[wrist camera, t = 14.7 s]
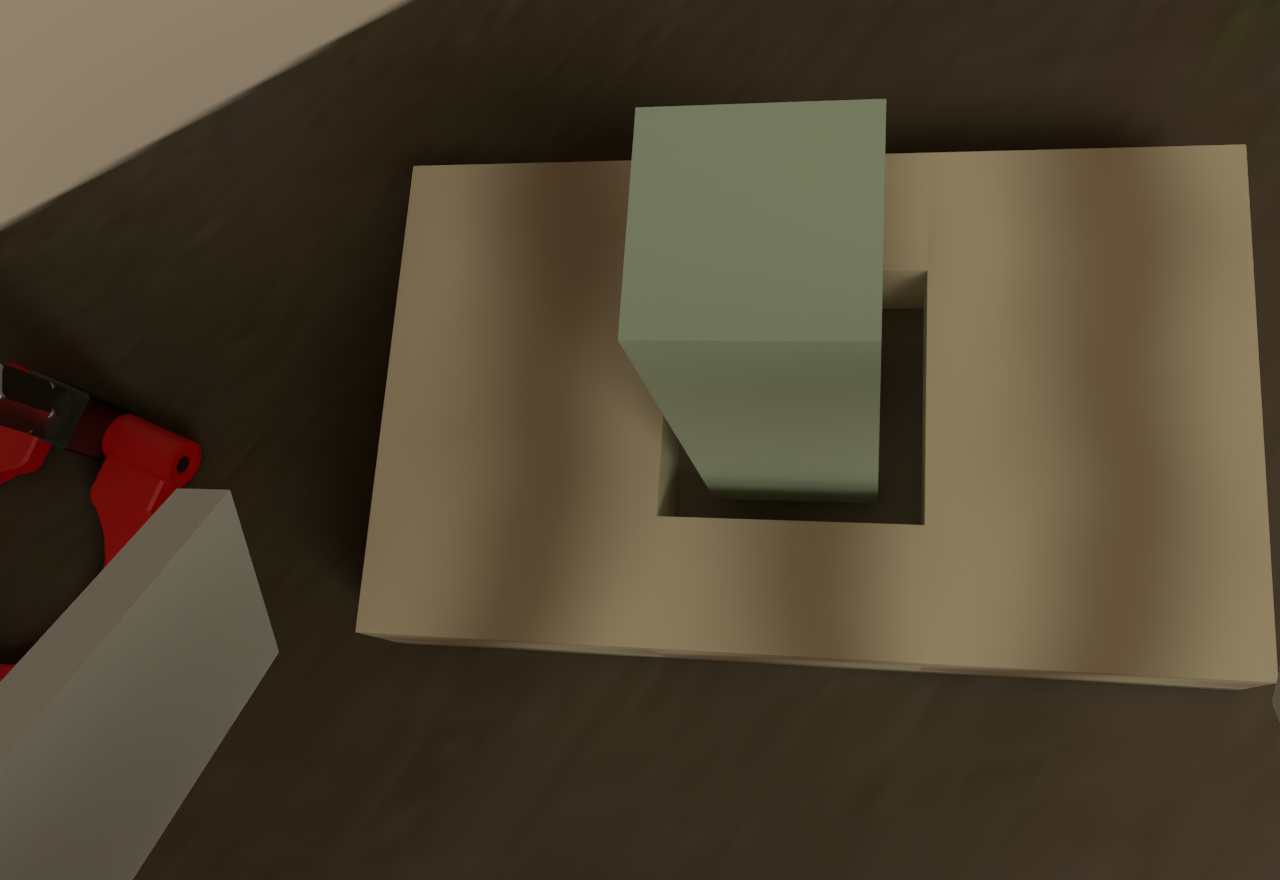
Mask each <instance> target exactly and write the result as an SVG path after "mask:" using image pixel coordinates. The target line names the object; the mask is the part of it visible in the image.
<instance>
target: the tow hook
mask: <svg viewBox="0 0 1280 880" xmlns="http://www.w3.org/2000/svg"><path fill="white" fill-rule="evenodd" d="M52 445H54V446H56V447H58V448H60V449H64V450H67V451H70V452H73V453H77V454H80V455H83V456H87V457H90V458H93V459H97V460H100V461H103V462H104V463H103V465H102V467H101V469H100V471H99V473H98V475H97V477H96V479H95V481H94V483H93V486H92V488H91V490H90V495H91V502H92V503H93V505H94V507H95V508H96V510H97V513H98V516H99V519H100V523H101V526H102V529H103V532H104V549H105V561H104V567H103V569H104V568H105V567H106V566H107V565H108V563H109V562H110V561H111V560H112V559H113V558H114V557H115V556H116V555H117V554H118V553H119V551H120V550H121V549H122V548H123V547H124V546H125V545H126V544H127V543H128V542H129V540H130V539H131V538H132V537H133V536H134V535H135V534H136V533H137V532H138V531H139V530H140V528H141V527H142V526H143V525H144V524H145V523H146V522H147V521H148V520H149V519H150V517H151V516H152V515H153V514H154V513H155V512H156V511H157V510H158V509H159V508H160V506H161V505H162V504H163V503H164V502H165V501H166V500H167V499H168V498H169V497H170V496H171V494H172V493H173V492H174V491H175V489H176V488H180V487H183V486H184V485H186V484H187V483H188V482H189V481H190V480H191V479H192V478H193V477H194V475H195V474H196V472H197V470H198V468H199V465H200V462H201V448H200V446H199V445H198V444H197V443H196V442H194V441H192V440H190V439H187V438H185V437H183V436H180V435H178V434H176V433H174V432H171V431H169V430H167V429H164V428H162V427H160V426H157V425H155V424H153V423H151V422H148V421H146V420H144V419H141V418H139V417H137V415H136V414H135V413H134V412H133V411H131V410H129V409H127V408H125V407H122V406H120V405H118V404H116V403H113V402H111V401H109V400H106V399H104V398H102V397H99V396H97V395H95V394H93V393H90V392H88V391H86V390H83V389H81V388H79V387H76V386H73V385H71V384H68V383H66V382H63V381H60V380H58V379H55V378H52V377H50V376H47V375H45V374H42V373H39V372H37V371H34V370H32V371H31V370H29V369H27V368H25V367H22V366H20V365H18V364H15V363H11V362H9V363H2V362H0V484H2V483H4V482H6V481H8V480H10V479H12V478H14V477H16V476H17V475H22V474H26V473H31V472H35V471H36V470H37V469H38V468H39V467H41V466H42V464H43V462H44V460H45V458H46V456H47V454H48V452H49V450H50V448H51V446H52ZM15 665H16V664H13V665H9V664H1V663H0V682H1V681H2V680H3V679H4V677H5V676H6V675H7V674H8V673H9V672H10V671H11V670H12V669H13V668H14V667H15Z"/></svg>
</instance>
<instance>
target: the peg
mask: <svg viewBox="0 0 1280 880" xmlns="http://www.w3.org/2000/svg"><path fill="white" fill-rule="evenodd" d="M885 138H886V99H867V100H839V101H810V102H781V103H752V104H724V105H695V106H666V107H637V108H635V122H634V135H633V148H632V161H631V174H630V187H629V200H628V213H627V226H626V240H625V253H624V266H623V279H622V292H621V305H620V318H619V331H618V341H619V343H620V345H621V346H622V348H623V350H624V351H625V353H626V355H627V356H628V358H629V360H630V361H631V363H632V364H633V366H634V368H635V369H636V371H637V373H638V374H639V376H640V378H641V379H642V381H643V382H644V384H645V386H646V387H647V389H648V391H649V392H650V394H651V396H652V397H653V399H654V400H655V402H656V404H657V405H658V407H659V409H660V410H661V412H662V414H663V415H664V417H665V418H666V420H667V422H668V423H669V425H670V427H671V428H672V430H673V432H674V433H675V435H676V436H677V438H678V440H679V441H680V443H681V445H682V446H683V448H684V450H685V451H686V453H687V454H688V456H689V458H690V459H691V461H692V463H693V464H694V466H695V468H696V469H697V471H698V472H699V474H700V476H701V477H702V479H703V481H704V482H705V484H706V486H707V487H708V489H709V491H710V492H711V494H712V495H713V497H714V499H741V500H775V501H808V502H842V503H876V504H878V469H879V425H880V382H881V337H882V288H883V238H884V188H885Z"/></svg>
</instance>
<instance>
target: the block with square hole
mask: <svg viewBox="0 0 1280 880" xmlns="http://www.w3.org/2000/svg"><path fill="white" fill-rule="evenodd" d="M631 161H632V160H629V161H590V162H551V163H513V164H474V165H435V166H413V174H412V182H411V190H410V198H409V206H408V214H407V222H406V230H405V238H404V246H403V254H402V262H401V270H400V278H399V286H398V294H397V302H396V310H395V318H394V326H393V334H392V342H391V350H390V358H389V366H388V374H387V382H386V390H385V398H384V406H383V414H382V422H381V431H380V439H379V447H378V455H377V463H376V471H375V479H374V487H373V495H372V503H371V511H370V519H369V527H368V535H367V543H366V551H365V559H364V567H363V575H362V583H361V591H360V599H359V607H358V615H357V623H356V631H355V632H357V633H361V634H365V635H370V636H374V637H378V638H382V639H386V640H390V641H394V642H399V643H403V644H420V645H438V646H456V647H474V648H491V649H509V650H527V651H544V652H562V653H580V654H598V655H615V656H633V657H651V658H669V659H686V660H704V661H722V662H739V663H757V664H775V665H793V666H810V667H828V668H846V669H864V670H881V671H899V672H917V673H935V674H952V675H970V676H988V677H1005V678H1023V679H1041V680H1059V681H1076V682H1094V683H1112V684H1130V685H1147V686H1165V687H1183V688H1200V689H1218V690H1241V689H1247V688H1252V687H1258V686H1263V685H1269V684H1274V683H1277V678H1278V670H1277V653H1276V636H1275V620H1274V603H1273V586H1272V570H1271V553H1270V536H1269V519H1268V503H1267V486H1266V469H1265V453H1264V436H1263V419H1262V403H1261V386H1260V369H1259V353H1258V336H1257V319H1256V302H1255V286H1254V269H1253V252H1252V236H1251V219H1250V202H1249V186H1248V169H1247V152H1246V145H1208V146H1170V147H1131V148H1092V149H1054V150H1015V151H976V152H938V153H899V154H885V188H884V238H883V288H882V337H881V382H880V425H879V469H878V504H876V503H842V502H808V501H775V500H741V499H714V497H713V495H712V494H711V492H710V491H709V489H708V487H707V486H706V484H705V482H704V481H703V479H702V477H701V476H700V474H699V472H698V471H697V469H696V468H695V466H694V464H693V463H692V461H691V459H690V458H689V456H688V454H687V453H686V451H685V450H684V448H683V446H682V445H681V443H680V441H679V440H678V438H677V436H676V435H675V433H674V432H673V430H672V428H671V427H670V425H669V423H668V422H667V420H666V418H665V417H664V415H663V414H662V412H661V410H660V409H659V407H658V405H657V404H656V402H655V400H654V399H653V397H652V396H651V394H650V392H649V391H648V389H647V387H646V386H645V384H644V382H643V381H642V379H641V378H640V376H639V374H638V373H637V371H636V369H635V368H634V366H633V364H632V363H631V361H630V360H629V358H628V356H627V355H626V353H625V351H624V350H623V348H622V346H621V345H620V343H619V341H618V331H619V318H620V305H621V292H622V279H623V266H624V253H625V240H626V226H627V213H628V200H629V187H630V174H631Z"/></svg>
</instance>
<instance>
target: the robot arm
mask: <svg viewBox="0 0 1280 880" xmlns="http://www.w3.org/2000/svg"><path fill="white" fill-rule="evenodd" d="M278 653H279V651H278V647H277V644H276V641H275V637H274V634H273V631H272V627H271V624H270V621H269V617H268V614H267V611H266V608H265V604H264V601H263V598H262V594H261V591H260V588H259V584H258V581H257V578H256V574H255V571H254V568H253V564H252V561H251V558H250V555H249V551H248V548H247V545H246V541H245V538H244V535H243V531H242V528H241V525H240V521H239V518H238V515H237V511H236V508H235V505H234V501H233V498H232V495H231V492H230V490H218V489H176V490H175V491H174V492H173V493H172V494H171V496H170V497H169V498H168V499H167V500H166V501H165V502H164V503H163V504H162V505H161V506H160V508H159V509H158V510H157V511H156V512H155V513H154V514H153V515H152V516H151V517H150V519H149V520H148V521H147V522H146V523H145V524H144V525H143V526H142V527H141V528H140V530H139V531H138V532H137V533H136V534H135V535H134V536H133V537H132V538H131V539H130V540H129V542H128V543H127V544H126V545H125V546H124V547H123V548H122V549H121V550H120V551H119V553H118V554H117V555H116V556H115V557H114V558H113V559H112V560H111V561H110V562H109V563H108V565H107V566H106V567H105V568H104V569H103V570H102V571H101V572H100V573H99V574H98V576H97V577H96V578H95V579H94V580H93V581H92V582H91V583H90V584H89V585H88V587H87V588H86V589H85V590H84V591H83V592H82V593H81V594H80V595H79V596H78V597H77V599H76V600H75V601H74V602H73V603H72V604H71V605H70V606H69V607H68V608H67V610H66V611H65V612H64V613H63V614H62V615H61V616H60V617H59V618H58V619H57V620H56V622H55V623H54V624H53V625H52V626H51V627H50V628H49V629H48V630H47V631H46V633H45V634H44V635H43V636H42V637H41V638H40V639H39V640H38V641H37V642H36V643H35V645H34V646H33V647H32V648H31V649H30V650H29V651H28V652H27V653H26V654H25V656H24V657H23V658H22V659H21V660H20V661H19V662H18V663H17V664H16V665H15V667H14V668H13V669H12V670H11V671H10V672H9V673H8V674H7V675H6V676H5V677H4V679H3V680H2V681H1V682H0V880H133V878H134V877H135V875H136V874H137V872H138V871H139V869H140V868H141V866H142V864H143V863H144V861H145V860H146V858H147V857H148V855H149V854H150V852H151V850H152V849H153V847H154V846H155V844H156V843H157V841H158V840H159V838H160V836H161V835H162V833H163V832H164V830H165V829H166V827H167V826H168V824H169V822H170V821H171V819H172V818H173V816H174V815H175V813H176V812H177V810H178V808H179V807H180V805H181V804H182V802H183V801H184V799H185V798H186V796H187V794H188V793H189V791H190V790H191V788H192V787H193V785H194V784H195V782H196V780H197V779H198V777H199V776H200V774H201V773H202V771H203V770H204V768H205V766H206V765H207V763H208V762H209V760H210V759H211V757H212V755H213V754H214V752H215V751H216V749H217V748H218V746H219V745H220V743H221V741H222V740H223V738H224V737H225V735H226V734H227V732H228V731H229V729H230V727H231V726H232V724H233V723H234V721H235V720H236V718H237V717H238V715H239V713H240V712H241V710H242V709H243V707H244V706H245V704H246V703H247V701H248V699H249V698H250V696H251V695H252V693H253V692H254V690H255V689H256V687H257V685H258V684H259V682H260V681H261V679H262V678H263V676H264V675H265V673H266V671H267V670H268V668H269V667H270V665H271V664H272V662H273V661H274V659H275V657H276V656H277V654H278ZM1272 704H1273V707H1274V709H1275V712H1276V714H1277V717H1278V719H1279V722H1280V670H1279V674H1278V678H1277V683H1276V687H1275V691H1274V695H1273V699H1272Z"/></svg>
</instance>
